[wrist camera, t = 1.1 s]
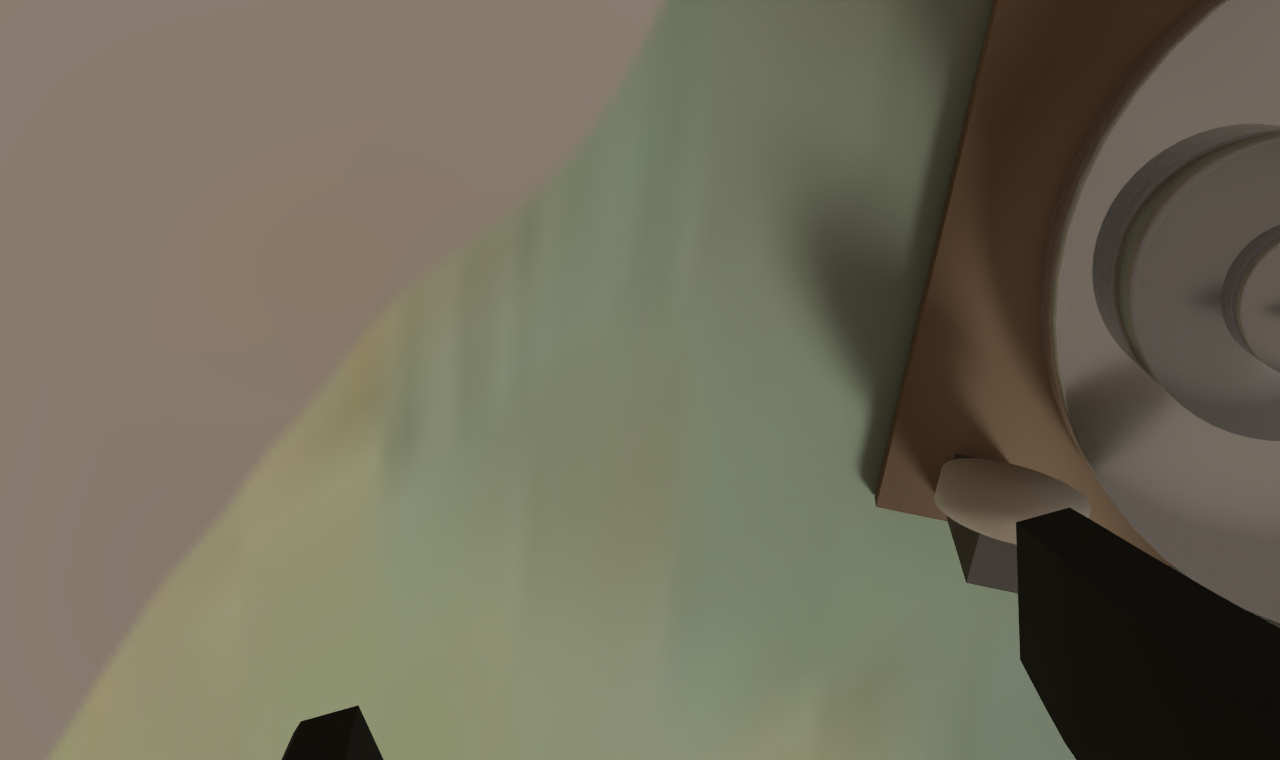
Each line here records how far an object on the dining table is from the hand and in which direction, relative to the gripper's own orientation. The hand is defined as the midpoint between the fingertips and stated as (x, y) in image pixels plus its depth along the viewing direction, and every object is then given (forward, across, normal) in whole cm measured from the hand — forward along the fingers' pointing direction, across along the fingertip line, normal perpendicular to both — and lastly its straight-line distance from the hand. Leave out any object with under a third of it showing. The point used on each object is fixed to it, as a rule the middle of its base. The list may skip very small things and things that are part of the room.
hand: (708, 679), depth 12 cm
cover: (+8, -12, +2) cm, 15 cm away
